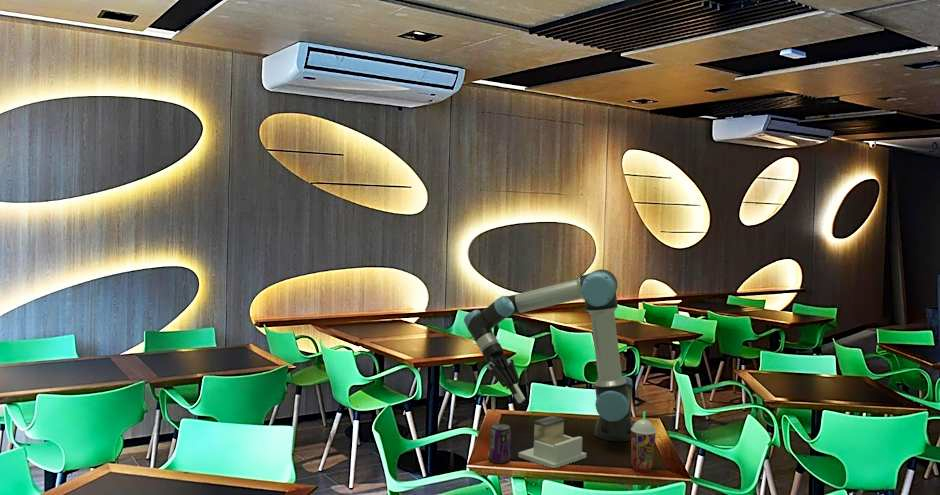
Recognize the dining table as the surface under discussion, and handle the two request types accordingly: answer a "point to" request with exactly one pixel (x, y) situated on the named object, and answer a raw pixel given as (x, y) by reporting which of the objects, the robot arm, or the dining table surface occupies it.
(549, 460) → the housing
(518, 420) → the dining table surface
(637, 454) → the smoothie
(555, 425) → the grey and beige block
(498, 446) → the beverage can
